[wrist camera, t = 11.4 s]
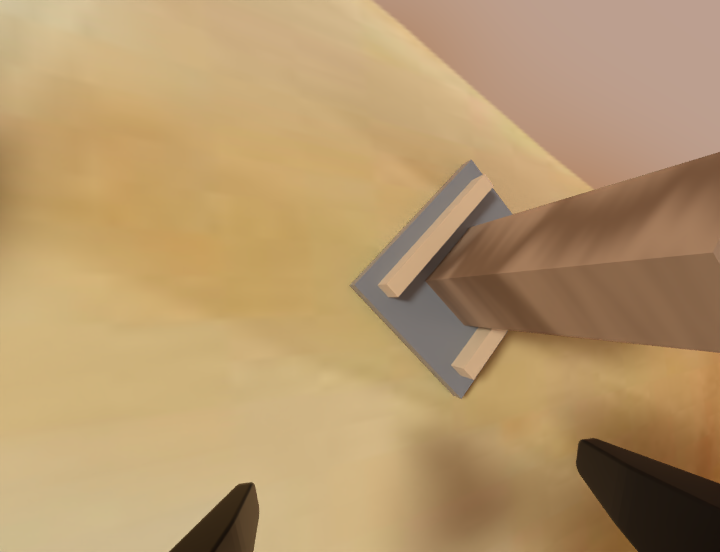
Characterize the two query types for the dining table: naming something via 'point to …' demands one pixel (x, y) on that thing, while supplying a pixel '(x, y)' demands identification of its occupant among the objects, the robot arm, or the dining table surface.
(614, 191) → the wooden block
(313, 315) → the dining table surface
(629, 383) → the dining table surface
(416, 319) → the grey stand base
